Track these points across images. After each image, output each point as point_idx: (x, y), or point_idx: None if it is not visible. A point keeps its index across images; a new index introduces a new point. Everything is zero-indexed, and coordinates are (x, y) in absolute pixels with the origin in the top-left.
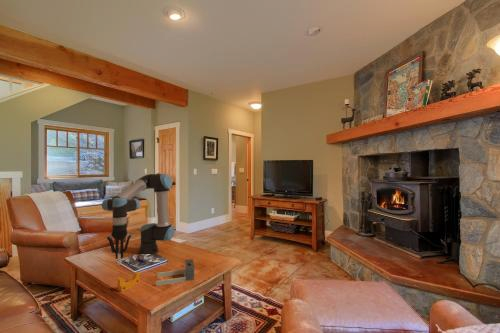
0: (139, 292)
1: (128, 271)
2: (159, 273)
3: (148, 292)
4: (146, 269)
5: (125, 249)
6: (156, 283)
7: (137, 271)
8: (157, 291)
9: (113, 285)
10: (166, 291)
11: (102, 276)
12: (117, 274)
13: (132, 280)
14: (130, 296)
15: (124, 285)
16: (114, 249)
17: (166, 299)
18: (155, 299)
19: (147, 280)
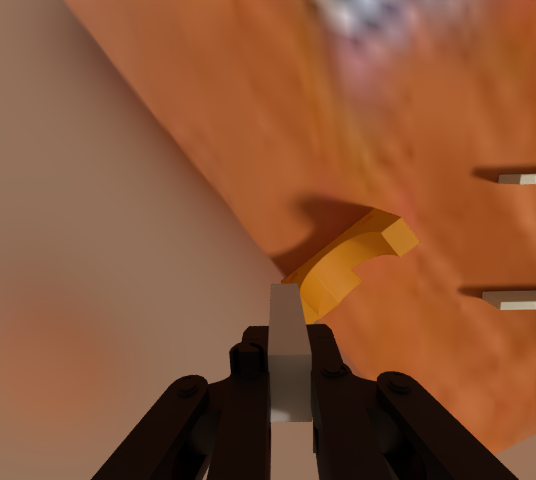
0: (397, 343)
1: (291, 5)
2: (532, 183)
3: (441, 356)
4: (426, 3)
5: (415, 475)
6: (494, 304)
7: (403, 223)
8: (485, 358)
9: (245, 223)
10: (528, 371)
11: (127, 54)
12: (223, 46)
13: (359, 255)
14: (358, 368)
15: (323, 314)
16: (192, 422)
17: (518, 436)
18: (471, 423)
19: (435, 213)
